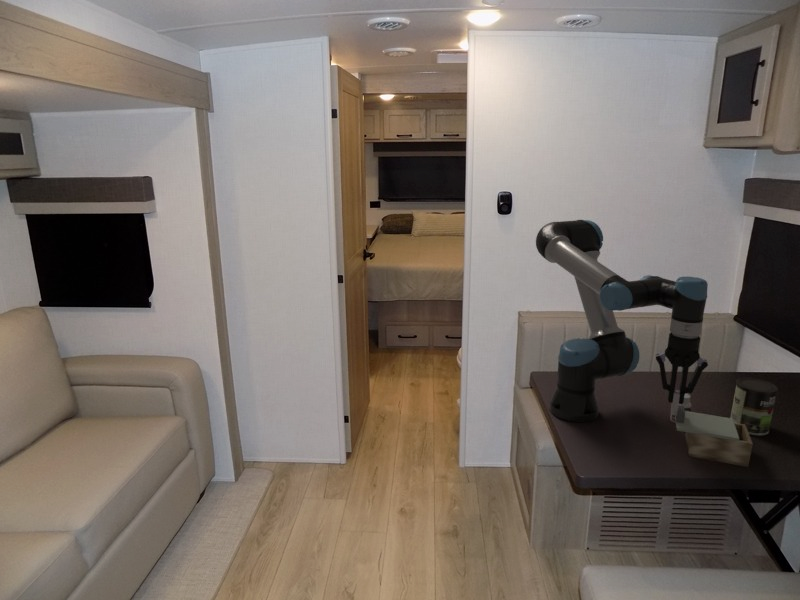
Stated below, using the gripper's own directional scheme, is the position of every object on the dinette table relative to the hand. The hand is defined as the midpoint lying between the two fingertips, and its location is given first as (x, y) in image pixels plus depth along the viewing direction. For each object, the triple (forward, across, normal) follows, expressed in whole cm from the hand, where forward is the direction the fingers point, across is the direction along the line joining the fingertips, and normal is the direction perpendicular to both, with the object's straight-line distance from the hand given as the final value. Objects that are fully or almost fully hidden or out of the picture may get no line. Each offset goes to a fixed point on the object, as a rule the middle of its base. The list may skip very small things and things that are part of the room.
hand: (673, 412), depth 148 cm
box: (+10, +12, +1) cm, 15 cm away
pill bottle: (+10, +3, +16) cm, 19 cm away
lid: (+3, +8, 0) cm, 8 cm away
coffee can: (+10, +22, +20) cm, 31 cm away
